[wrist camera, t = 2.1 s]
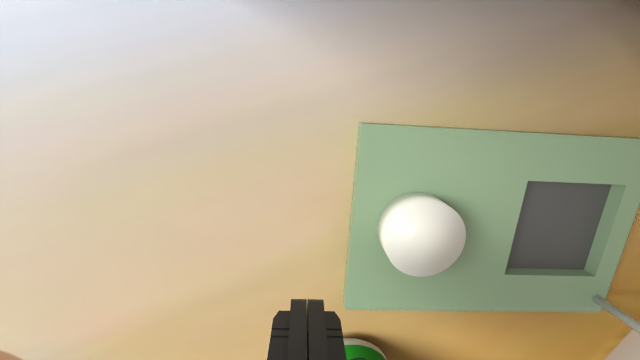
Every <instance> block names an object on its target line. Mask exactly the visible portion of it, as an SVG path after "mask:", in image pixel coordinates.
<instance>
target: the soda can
mask: <svg viewBox="0 0 640 360" xmlns="http://www.w3.org/2000/svg"><path fill="white" fill-rule="evenodd" d="M343 340H344V346H345V352H346V358H347V360H387V358H386V356H385V355H384V354H383V353H382V351H381V350H380V349H379V348H378V347H376V346H375V345H373V344H372V343H370V342H367V341H364V340H361V339H357V338H343Z"/></svg>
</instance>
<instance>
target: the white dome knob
mask: <svg viewBox="0 0 640 360" xmlns="http://www.w3.org/2000/svg"><path fill="white" fill-rule="evenodd" d="M377 234H378V239H379V241H380V243H381V245H382V247H383V249H384V251H385V252H386V254H387V256H388V258H389V260H390V261H391V263H392V264H393V265H394V266H395V267H396V268H397V269H398V270H399V271H401V272H403V273H405V274H407V275H410V276H416V277H426V276H431V275H435V274H437V273H440V272H442V271H444V270H445V269H447V268H448V267H450V266H451V265H452V264H453V263H454V262H455V261H456V260H457V258H458V257H459V256H460V254H461V252H462V250H463V248H464V245H465V240H466V229H465V225H464V222H463V220H462V218H461V217H460V215H459V214H458V213H457V212H456V211H455V210H454V209H452V208H451V207H450V206H448V205H447V204H445V203H444V202H443V201H441V200H440V199H438V198H437V197H435V196H434V195H432V194H429V193H426V192H409V193H405V194H402V195H400V196H398V197H396V198H395V199H393V200H392V201H391V202H390V203H389V204H388V205H387V206H386V207H385V208H384V210H383V211H382V213H381V215H380V217H379V220H378V225H377Z"/></svg>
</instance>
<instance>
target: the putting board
mask: <svg viewBox="0 0 640 360" xmlns="http://www.w3.org/2000/svg"><path fill="white" fill-rule="evenodd" d="M409 192H426V193H429V194H432V195H434V196H435V197H437V198H438V199H440V200H441V201H443V202H444V203H445V204H447V205H448V206H450V207H451V208H452V209H454V210H455V211H456V212H457V213H458V214H459V215H460V217H461V218H462V220H463V222H464V225H465V229H466V240H465V245H464V248H463V250H462V252H461V254H460V256H459V257H458V258H457V260H456V261H455V262H454V263H453V264H452V265H451V266H450V267H448V268H447V269H445V270H444V271H442V272H440V273H437V274H435V275H431V276H426V277H416V276H410V275H407V274H405V273H403V272H401V271H399V270H398V269H397V268H396V267H395V266H394V265H393V264H392V263H391V261H390V260H389V258H388V256H387V254H386V252H385V251H384V249H383V247H382V245H381V243H380V241H379V239H378V234H377V225H378V220H379V217H380V215H381V213H382V211H383V210H384V208H385V207H386V206H387V205H388V204H389V203H390V202H391V201H392V200H393V199H395V198H396V197H398V196H400V195H402V194H405V193H409ZM639 204H640V138H628V137H610V136H593V135H575V134H557V133H539V132H521V131H503V130H485V129H467V128H449V127H431V126H413V125H395V124H377V123H360V122H359V131H358V142H357V152H356V163H355V174H354V185H353V196H352V207H351V218H350V229H349V240H348V251H347V262H346V273H345V284H344V295H343V303H344V308H345V310H418V311H514V312H601V310H602V308H603V309H605V310H606V311H608V312H609V313H611V314H612V315H613V316H615V317H616V318H618V319H619V320H621V321H622V322H624V323H625V324H626V325H628V326H629V327H631V328H632V329H634V330H635V331H637V332H638V333H639V334H640V323H639V322H638V321H636V320H635V319H633V318H632V317H630V316H629V315H627V314H626V313H624V312H622V311H621V310H619V309H618V308H616V307H615V306H613V305H612V304H610V303H609V302H607V301H606V300H605V299H606V296H607V293H608V291H609V288H610V285H611V282H612V279H613V277H614V274H615V271H616V268H617V266H618V263H619V260H620V257H621V254H622V252H623V249H624V246H625V243H626V240H627V238H628V235H629V232H630V229H631V227H632V224H633V221H634V218H635V215H636V213H637V210H638V207H639Z"/></svg>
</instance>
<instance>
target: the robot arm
mask: <svg viewBox="0 0 640 360" xmlns="http://www.w3.org/2000/svg"><path fill="white" fill-rule="evenodd" d="M267 360H347V358H346V352H345V346H344V340H343V334H342V328H341V321H340V319H339V317H338V316H337V314H336V313H335V312H332V311H324V302H323V300H314V299H308V302H307V300H306V299H291V309H290V311H279V312H278V313H277V314H276V316H275V317H274V318H273V324H272V331H271V338H270V344H269V351H268V358H267Z"/></svg>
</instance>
